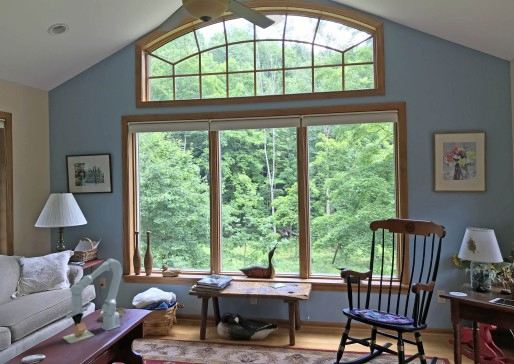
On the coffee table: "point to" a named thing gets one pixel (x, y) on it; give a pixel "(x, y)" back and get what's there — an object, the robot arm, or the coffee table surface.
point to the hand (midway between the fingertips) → (77, 325)
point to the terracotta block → (79, 329)
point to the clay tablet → (119, 310)
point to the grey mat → (73, 339)
